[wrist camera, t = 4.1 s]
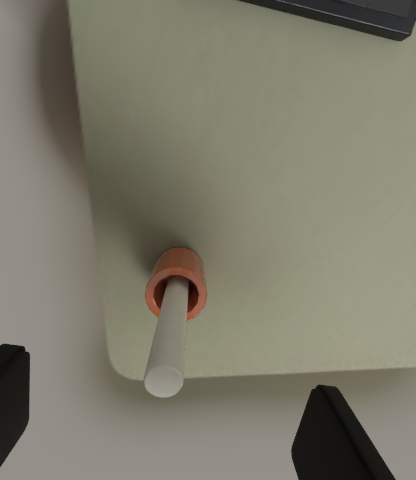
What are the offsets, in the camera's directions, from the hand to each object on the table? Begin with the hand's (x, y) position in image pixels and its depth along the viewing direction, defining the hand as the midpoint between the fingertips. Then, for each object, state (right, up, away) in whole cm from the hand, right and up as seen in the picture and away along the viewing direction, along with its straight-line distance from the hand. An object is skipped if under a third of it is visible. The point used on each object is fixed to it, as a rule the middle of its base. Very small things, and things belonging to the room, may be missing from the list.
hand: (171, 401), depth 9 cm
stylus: (-1, +3, +10) cm, 11 cm away
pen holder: (-1, +3, +11) cm, 11 cm away
